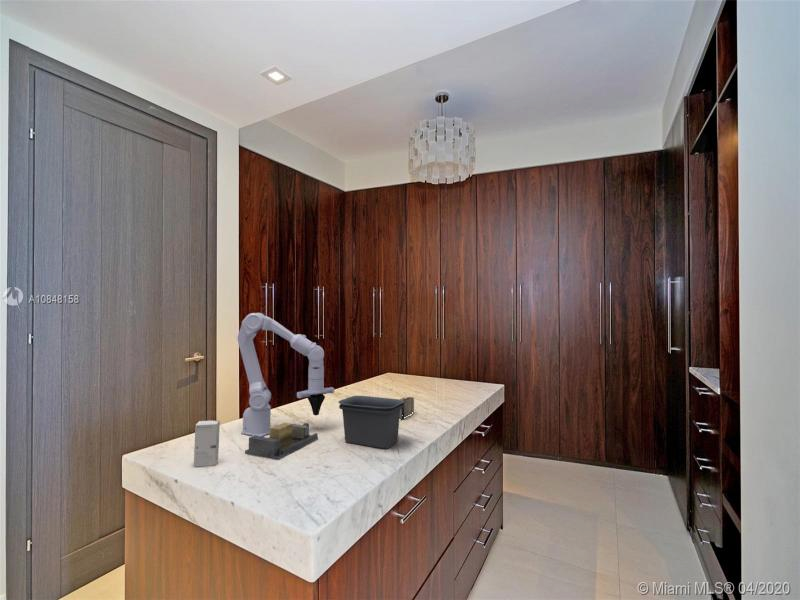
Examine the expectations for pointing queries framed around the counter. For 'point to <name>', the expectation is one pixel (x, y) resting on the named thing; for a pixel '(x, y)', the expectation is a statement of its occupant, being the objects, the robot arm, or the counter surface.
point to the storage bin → (371, 420)
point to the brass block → (282, 433)
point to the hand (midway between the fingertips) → (315, 414)
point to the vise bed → (276, 446)
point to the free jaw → (300, 431)
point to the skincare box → (206, 443)
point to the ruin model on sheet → (407, 407)
